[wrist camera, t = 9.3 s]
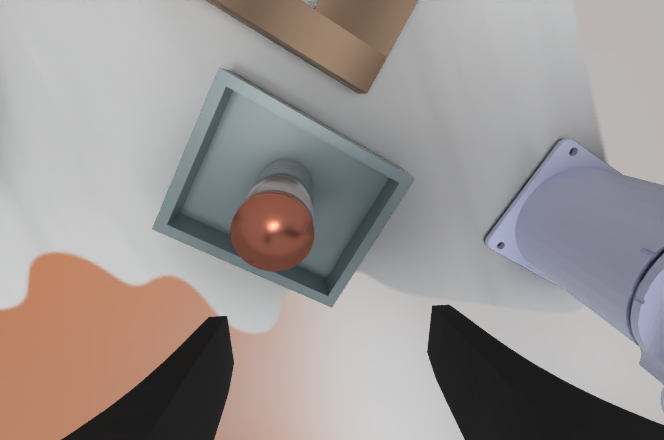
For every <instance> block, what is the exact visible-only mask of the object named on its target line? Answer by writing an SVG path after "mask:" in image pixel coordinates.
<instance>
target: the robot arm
mask: <svg viewBox="0 0 664 440" xmlns="http://www.w3.org/2000/svg"><path fill="white" fill-rule="evenodd" d="M572 148H573V152H572V153H571V154H569V151H570V150H571V149H572ZM500 242H502V243H501V245H500V246H499V247H497V245H498V243H500ZM485 244H486V245H487V246H488V247H489V248H490V249H492V250H494V251H496V252H498V253H499V254H501V255H503V256H505V257H507V258H509V259H510V260H512V261H514V262H516V263H518V264H520V265H521V266H523V267H525V268H527V269H529V270H530V271H532V272H534V273H536V274H538V275H540V276H541V277H543V278H545V279H547V280H549V281H551V282H552V283H554V284H556V285H558V286H560V287H562V288H563V289H565V290H566V291H567V292H569V293H570V294H571V295H573V296H574V297H575V298H577V299H578V300H579V301H580V302H582V303H583V304H584V305H586V306H587V307H588V308H590V309H591V310H592V311H594V312H595V313H596V314H598V315H599V316H600V317H601V318H603V319H604V320H606V321H607V322H608V323H609V324H611V325H612V326H613V327H615V328H616V329H617V330H619V331H620V332H621V333H622V334H624V335H625V336H626V337H628V338H629V339H630V340H632V341H633V342H634V343H636V344H637V345H638V346H639V347H640V349H641V359H640V363H639V364H640V366H642V367H643V368H644V369H645V370H647V371H648V372H649V373H650V374H651V375H653V376H654V377H655V378H656V379H658V380H659V381H660V382H661V383H662V384H664V186H663V185H659V184H656V183H651V182H648V181H644V180H640V179H636V178H632V177H628V176H624V175H622V174H621V173H620V172H618V171H617V170H615V169H614V168H612V167H611V166H609V165H608V164H606V163H605V162H604V161H602V160H601V159H599V158H598V157H596V156H595V155H593V154H592V153H590V152H589V151H588V150H586V149H585V148H583V147H582V146H580V145H579V144H577V143H576V142H575V141H573V140H571V139H562V140H560V141H559V142H558V143H557V144H556V146H555V147H554V148H553V150H552V151H551V152H550V154H549V155H548V156H547V158H546V159H545V160H544V162H543V163H542V164H541V166H540V167H539V168H538V170H537V171H536V172H535V174H534V175H533V176H532V178H531V179H530V180H529V182H528V183H527V184H526V186H525V187H524V188H523V190H522V191H521V192H520V193H519V195H518V196H517V197H516V199H515V200H514V201H513V203H512V204H511V205H510V207H509V208H508V209H507V211H506V212H505V213H504V215H503V216H502V217H501V219H500V220H499V221H498V223H497V224H496V225H495V227H494V228H493V229H492V231H491V232H490V233H489V235H488V236H487V237H486V239H485ZM427 352H428V356H429V359H430V362H431V365H432V368H433V371H434V374H435V377H436V380H437V382H438V384H439V386H440V388H441V390H442V392H443V394H444V397H445V399H446V401H447V403H448V405H449V407H450V410H451V412H452V413H453V416H454V418H455V420H456V422H457V424H458V426H459V428H460V430H461V433H462V434H463V437H464V439H465V440H664V425H662V424H659V423H656V422H654V421H651V420H649V419H646V418H644V417H642V416H639V415H637V414H634V413H632V412H629V411H627V410H625V409H622V408H620V407H618V406H615V405H613V404H611V403H609V402H606V401H604V400H602V399H599V398H598V397H596V396H593V395H591V394H589V393H587V392H585V391H583V390H581V389H579V388H577V387H575V386H573V385H571V384H569V383H567V382H565V381H563V380H562V379H560V378H558V377H556V376H554V375H553V374H551V373H549V372H547V371H546V370H544V369H542V368H540V367H538V366H537V365H535V364H533V363H532V362H530V361H528V360H527V359H525V358H524V357H522V356H521V355H519V354H517V353H516V352H515V351H513V350H511V349H510V348H508V347H507V346H506V345H504V344H503V343H501V342H500V341H498V340H497V339H495V338H494V337H493V336H491V335H490V334H488V333H487V332H486V331H484V330H483V329H482V328H480V327H479V326H477V325H476V324H475V323H473V322H472V321H471V320H469V319H468V318H467V317H465V316H464V315H463V314H461V313H460V312H459V311H457V310H456V309H454V308H453V307H451V306H450V305H438V306H432V314H431V323H430V332H429V341H428V351H427ZM233 365H234V360H233V354H232V347H231V340H230V333H229V326H228V319H227V316H218V317H209V318H208V319H207V320H205V321H204V323H203V324H201V326H199V327H198V329H196V331H195V332H194V333H193V334H192V335H191V336H190V337H189V338H188V339H187V340H186V341H185V342H184V343H183V344H182V345H181V346H180V347H179V348H178V349H177V350H176V351H175V352H174V353H172V354H171V355H170V356H169V357H168V358H167V359H166V360H165V361H164V362H163V363H162V364H161V365H160V366H159V367H157V368H156V369H155V370H154V371H153V372H152V373H151V374H150V375H149V376H148V377H146V378H145V379H144V380H143V381H142V382H141V383H139V384H138V385H137V386H136V387H134V388H133V389H132V390H131V391H130V392H128V393H127V394H126V395H124V396H123V397H122V398H121V399H119V400H118V401H117V402H115V403H114V404H113V405H111V406H110V407H109V408H107V409H106V410H105V411H103V412H102V413H100V414H99V415H97V416H96V417H94V418H93V419H92V420H90V421H88V422H87V423H86V424H84V425H83V426H81V427H80V428H78V429H77V430H76V431H74V432H72V433H71V434H70V435H68V436H66V437H65V438H63V439H62V440H214V438H215V435H216V431H217V428H218V425H219V422H220V419H221V415H222V412H223V409H224V405H225V402H226V399H227V396H228V392H229V387H230V382H231V377H232V371H233ZM661 405H662V409H663V412H664V387H663V390H662V392H661Z"/></svg>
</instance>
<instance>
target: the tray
mask: <svg viewBox="0 0 664 440" xmlns="http://www.w3.org/2000/svg"><path fill="white" fill-rule="evenodd" d="M283 158H286V159H292V160H295V161H298V162H299V163H301V164H302V165H304V166H305V167H306V168H307V170H308V171H309V173H310V175H311V177H312V181H313V205H314V242H313V246H312V248H311V250H310V252H309V254H308V255H307V257H306V258H305V259H304V260H303V261H302V262H300V263H299V264H298V265H296V266H294V267H292V268H290V269H287V270H283V271H275V272H274V271H264V270H260V269H258V268H255V267H253V266H251V265H249V264H248V263H246V262H245V261H244V260H243V259H242V258H241V257H240V256H239V255H238V253H237V252H236V250H235V249H234V246H233V244H232V241H231V236H230V228H231V223H232V220H233V217H234V215H235V214H236V212H237V210H238V209H239V207H240V205H241V204H242V202H243V201H244V199H245V197H246V196H247V194H248V193H249V191H250V189H251V188H252V186H253V185H254V183H255V181H256V180H257V178H258V177H259V175H260V173H261V172H262V170H263V169H264V168H265V166H267V165H268V164H269V163H270V162H272V161H274V160H277V159H283ZM413 181H414V178H413V177H412V176H410V175H409V174H408V173H407V172H405V171H404V170H403V169H401V168H399V167H398V166H396V165H394V164H392V163H391V162H389V161H387V160H385V159H384V158H382V157H380V156H378V155H377V154H375V153H373V152H371V151H370V150H368V149H366V148H365V147H363V146H361V145H359V144H358V143H356V142H354V141H352V140H351V139H349V138H347V137H345V136H344V135H342V134H340V133H338V132H337V131H335V130H333V129H331V128H330V127H328V126H326V125H324V124H323V123H321V122H319V121H317V120H316V119H314V118H312V117H310V116H309V115H307V114H305V113H303V112H302V111H300V110H298V109H296V108H295V107H293V106H291V105H289V104H288V103H286V102H284V101H282V100H281V99H279V98H277V97H275V96H274V95H272V94H270V93H268V92H267V91H265V90H263V89H261V88H260V87H258V86H256V85H254V84H253V83H251V82H249V81H247V80H246V79H244V78H242V77H240V76H239V75H237V74H235V73H233V72H232V71H229V70H226V69H222V68H219V69H218V72H217V74H216V76H215V79H214V81H213V84H212V86H211V88H210V91H209V93H208V96H207V98H206V100H205V103H204V105H203V108H202V110H201V113H200V115H199V117H198V120H197V122H196V125H195V127H194V129H193V132H192V134H191V137H190V139H189V141H188V144H187V146H186V149H185V151H184V154H183V156H182V158H181V161H180V163H179V166H178V168H177V170H176V173H175V175H174V178H173V180H172V182H171V185H170V187H169V190H168V192H167V195H166V197H165V199H164V202H163V204H162V207H161V209H160V211H159V214H158V216H157V219H156V221H155V223H154V226H153V228H152V229H153V230H155V231H158V232H160V233H162V234H165V235H167V236H169V237H172V238H174V239H176V240H178V241H181V242H183V243H185V244H188V245H190V246H192V247H194V248H197V249H199V250H201V251H204V252H206V253H208V254H211V255H213V256H215V257H217V258H220V259H222V260H224V261H227V262H229V263H231V264H233V265H236V266H238V267H240V268H243V269H245V270H247V271H249V272H252V273H254V274H256V275H259V276H261V277H263V278H266V279H268V280H270V281H272V282H275V283H277V284H279V285H282V286H284V287H286V288H288V289H291V290H293V291H296V292H298V293H300V294H302V295H305V296H307V297H309V298H311V299H314V300H316V301H318V302H321V303H323V304H325V305H327V306H330V307H333V305H334V303H335V302H336V300H337V299H338V297H339V296H340V294H341V293H342V291H343V289H344V288H345V286H346V285H347V283H348V282H349V280H350V279H351V277H352V275H353V274H354V272H355V271H356V269H357V268H358V266H359V265H360V263H361V261H362V260H363V258H364V257H365V255H366V254H367V252H368V251H369V249H370V247H371V246H372V244H373V243H374V241H375V240H376V238H377V237H378V235H379V233H380V232H381V230H382V229H383V227H384V226H385V224H386V223H387V221H388V219H389V218H390V216H391V215H392V213H393V212H394V210H395V209H396V207H397V205H398V204H399V202H400V201H401V199H402V198H403V196H404V195H405V193H406V191H407V190H408V188H409V187H410V185H411V184H412V182H413Z"/></svg>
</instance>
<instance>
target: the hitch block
mask: <svg viewBox="0 0 664 440" xmlns="http://www.w3.org/2000/svg"><path fill="white" fill-rule="evenodd" d="M206 1H208V2H210V3H211V4H213V5H214V6H216V7H218V8H219V9H221V10H223V11H224V12H226V13H228V14H229V15H231V16H232V17H234V18H236V19H237V20H239V21H241V22H242V23H244V24H246V25H247V26H249V27H250V28H252V29H254V30H255V31H257V32H259V33H260V34H262V35H264V36H265V37H267V38H268V39H270V40H272V41H273V42H275V43H277V44H278V45H280V46H282V47H283V48H285V49H286V50H288V51H290V52H291V53H293V54H295V55H296V56H298V57H300V58H301V59H303V60H304V61H306V62H308V63H309V64H311V65H313V66H314V67H316V68H318V69H319V70H321V71H322V72H324V73H326V74H327V75H329V76H331V77H332V78H334V79H336V80H337V81H339V82H340V83H342V84H344V85H345V86H347V87H349V88H350V89H352V90H354V91H355V92H357V93H367V92H368V90H369V89H370V87H371V85H372V83H373V81H374V80H375V78H376V76H377V74H378V72H379V71H380V69H381V67H382V65H383V63H384V62H385V60H386V58H387V56H388V54H389V52H390V51H391V49H392V47H393V45H394V43H395V42H396V40H397V38H398V36H399V34H400V33H401V31H402V29H403V27H404V25H405V24H406V22H407V20H408V18H409V16H410V15H411V13H412V11H413V9H414V7H415V5H416V4H417V2H418V0H319V2H318V4H317V6H316V8H315V10H314V9H313V8H311V7H310V6H308V5H307V4H305V3H304V2H302V1H301V0H206Z"/></svg>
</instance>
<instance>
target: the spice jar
mask: <svg viewBox="0 0 664 440" xmlns="http://www.w3.org/2000/svg"><path fill="white" fill-rule="evenodd" d="M230 236H231V241H232V244H233V246H234V249H235V250H236V252H237V253H238V255H239V256H240V257H241V258H242V259H243V260H244V261H245V262H246V263H248V264H249V265H251V266H253V267H255V268H258V269H260V270H264V271H274V272H275V271H283V270H287V269H290V268H292V267H294V266H296V265H298V264H299V263H300V262H302V261H303V260H304V259H305V258H306V257H307V255H308V254H309V252H310V250H311V248H312V246H313V242H314V205H313V181H312V177H311V175H310V173H309V171H308V170H307V168H306V167H305V166H304V165H302V164H301V163H299V162H298V161H295V160H292V159H286V158H283V159H277V160H274V161H272V162H270V163H269V164H268V165H267V166H265V168H264V169H263V170H262V172H261V173H260V175H259V177H258V178H257V180H256V181H255V183H254V185H253V186H252V188H251V189H250V191H249V193H248V194H247V196H246V197H245V199H244V201H243V202H242V204H241V205H240V207H239V209H238V210H237V212H236V214H235V215H234V217H233V220H232V223H231V228H230Z"/></svg>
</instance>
